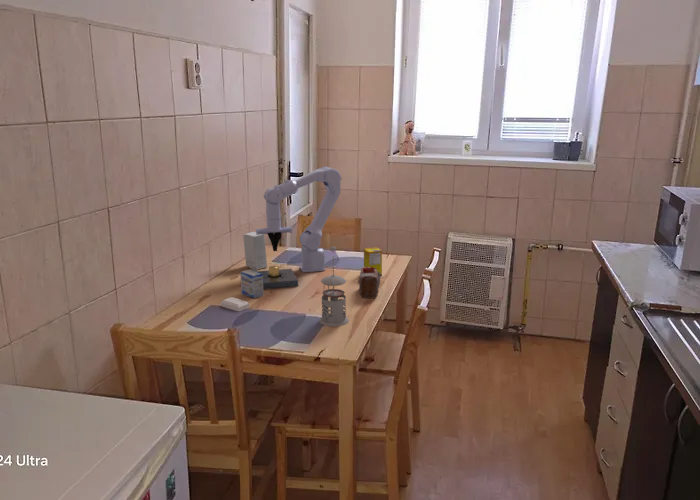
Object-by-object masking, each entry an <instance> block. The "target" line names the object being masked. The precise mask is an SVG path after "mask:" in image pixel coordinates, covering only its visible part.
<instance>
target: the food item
mask: <svg viewBox="0 0 700 500" xmlns="http://www.w3.org/2000/svg"><path fill="white" fill-rule="evenodd" d="M358 281H359V282H358V283H359V285H358V286H359V288H358V289H359V295H360V297H361V299H362V298H363V299H377V297H378V294H379V288H380V284H381V276H380V272H378V271H377V269H376V268H372V267H365V268H364V267H361V270H360V273H359V279H358Z"/></svg>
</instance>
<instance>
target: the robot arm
mask: <svg viewBox="0 0 700 500" xmlns="http://www.w3.org/2000/svg"><path fill="white" fill-rule="evenodd" d="M341 181H342V176H341V174H340V171H339V170H338V169H337V168H332V167H329V166H322V167H321V168H317V169H315V170H313V171H311V172H309V173H308V174H305V175H304V176H302V177H300V178H298V179H296V180H292V179H285V180H284V182H282V183H281V184H279V185H277V184H276V185H274V186H273V187H269V188H268V189H267V188H266V190H265V192H264V194H263V198H264V200H265V210H266V211H265V212H266V213H265V214H266V227H264V228H257V229H255V232H256V235H259V234H264V235H267V237H268V238H269V240H270V242H271V247H272V250H273V252H278V246H279V242H280V240H281V237H282V234H285V233H287V234H288V233H291V234H292V233H293V227H292V226H284V227H283V226H282V214H281V202H282V200H284V199H286V198H288V197H291V196H292V195H294V194H296V193H297V192H298V189H300V188H302V187H304V186H307V185H309V184H312V183H315V182H320V183H321V182H322V183H323V185H324V187H325V190H326V193H325V195H324V197H323V199H322V200H321V203H320V205H319V207H318V209H317V211H316V213H315V215H314V216H313V219H312V221H311V223H310V224H309V225H308V226H307V227H306V228H305V230H304V231H303V232H302V233H301V234H300V235H299V243H300V244H301V245H302V246H301V266H299V268H300V270H301V271H302V273H308V272H309V273H313V272H320V271H321V272H322V271H323V272H324V271H326V269H325V268H326V266H325V251H324V248H323V247H320V246H321V239H322V237H323V233H322V232H323V228H324V226H325V225H326V222H327V221H328V219H329V216H330V215H331V213H332V211H333V209H334V207H335V205H336V203H337V200H338V198H339V196H340V194H341V192H342V191H341ZM319 247H320V248H319Z"/></svg>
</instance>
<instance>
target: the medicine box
mask: <svg viewBox="0 0 700 500" xmlns="http://www.w3.org/2000/svg"><path fill="white" fill-rule="evenodd" d="M240 287H241V288H240V289H241V290H240V293H241V294H242V295H244V296H247V297H249V298H253V299H256V298H257V299H258V298H261V297H264V289H263V274H261V273H258V272H255V271H252V269H246V270H243V271H240Z"/></svg>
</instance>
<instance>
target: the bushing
mask: <svg viewBox="0 0 700 500" xmlns="http://www.w3.org/2000/svg"><path fill="white" fill-rule="evenodd" d="M268 270H269V278H278V277H279V270H280V266H278V265H271V266H269V267H268Z"/></svg>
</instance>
